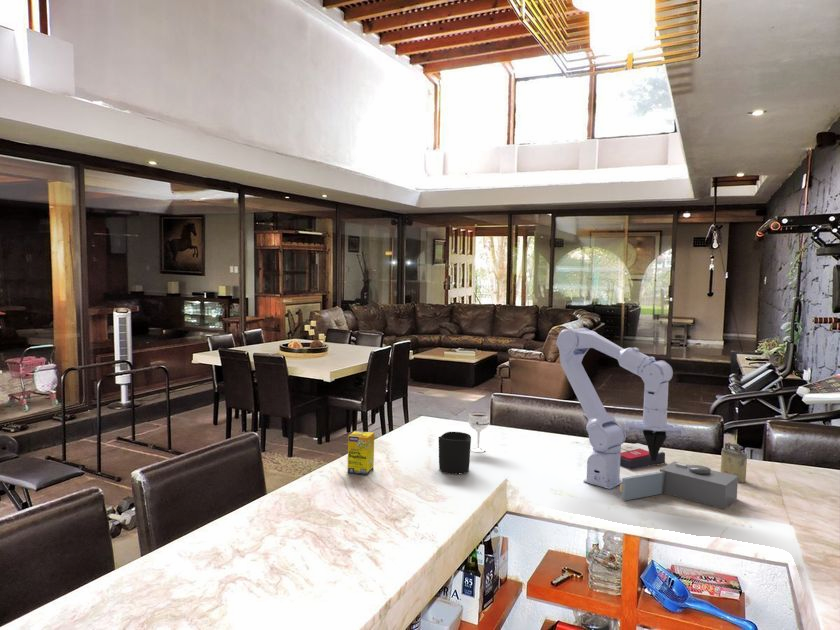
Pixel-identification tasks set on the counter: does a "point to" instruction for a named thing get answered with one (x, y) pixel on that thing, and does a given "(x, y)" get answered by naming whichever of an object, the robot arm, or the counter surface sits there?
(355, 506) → the counter surface
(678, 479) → the camera case
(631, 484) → the side door
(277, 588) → the counter surface
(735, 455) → the lighter
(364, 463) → the supplement box
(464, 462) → the pen holder
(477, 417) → the wineglass
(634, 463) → the calculator
